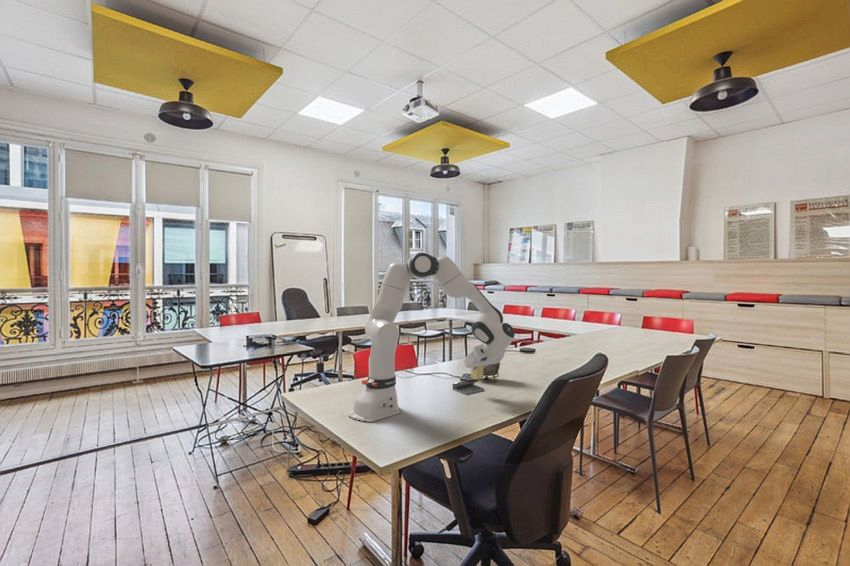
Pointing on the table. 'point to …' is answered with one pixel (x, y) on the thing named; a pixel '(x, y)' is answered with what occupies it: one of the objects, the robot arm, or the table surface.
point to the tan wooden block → (477, 373)
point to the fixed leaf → (467, 387)
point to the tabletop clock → (491, 370)
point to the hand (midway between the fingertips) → (476, 368)
